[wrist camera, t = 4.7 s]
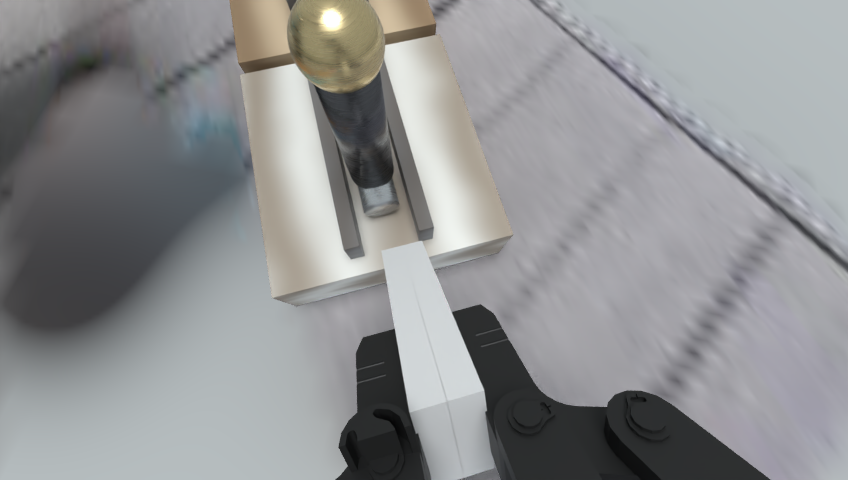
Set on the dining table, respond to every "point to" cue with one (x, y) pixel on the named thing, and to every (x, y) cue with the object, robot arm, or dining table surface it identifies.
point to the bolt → (349, 88)
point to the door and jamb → (327, 172)
